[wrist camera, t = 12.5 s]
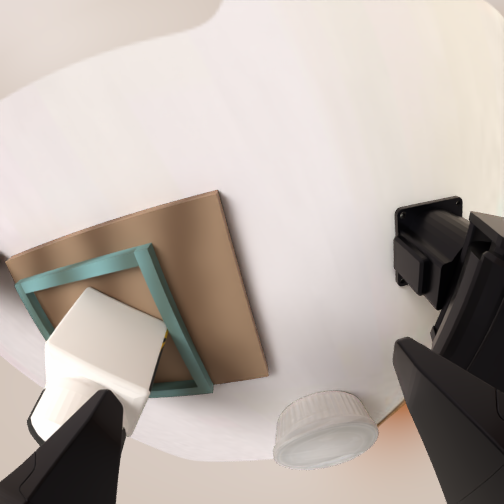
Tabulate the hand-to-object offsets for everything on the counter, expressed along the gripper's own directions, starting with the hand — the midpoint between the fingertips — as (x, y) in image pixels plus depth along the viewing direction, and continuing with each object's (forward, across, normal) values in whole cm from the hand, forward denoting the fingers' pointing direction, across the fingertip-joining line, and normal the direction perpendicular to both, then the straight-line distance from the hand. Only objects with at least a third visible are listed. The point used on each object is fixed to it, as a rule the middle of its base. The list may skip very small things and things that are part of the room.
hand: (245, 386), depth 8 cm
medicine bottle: (+12, +12, +6) cm, 18 cm away
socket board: (+13, +11, +5) cm, 18 cm away
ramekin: (+13, -3, +23) cm, 27 cm away
